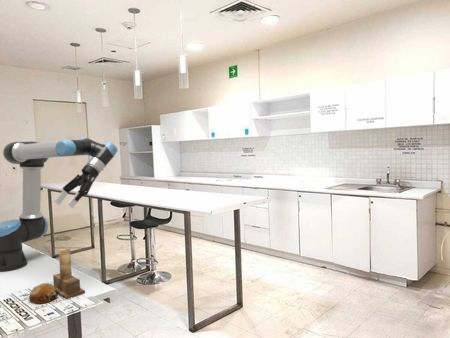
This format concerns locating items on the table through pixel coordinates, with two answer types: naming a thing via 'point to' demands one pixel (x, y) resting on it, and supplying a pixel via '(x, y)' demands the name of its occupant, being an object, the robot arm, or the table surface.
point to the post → (65, 263)
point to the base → (67, 286)
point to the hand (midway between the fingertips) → (63, 204)
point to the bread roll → (43, 293)
